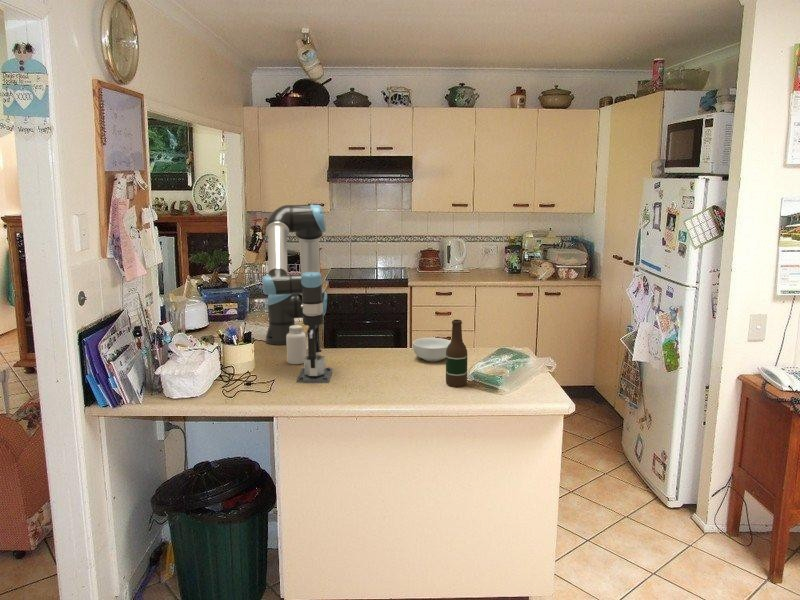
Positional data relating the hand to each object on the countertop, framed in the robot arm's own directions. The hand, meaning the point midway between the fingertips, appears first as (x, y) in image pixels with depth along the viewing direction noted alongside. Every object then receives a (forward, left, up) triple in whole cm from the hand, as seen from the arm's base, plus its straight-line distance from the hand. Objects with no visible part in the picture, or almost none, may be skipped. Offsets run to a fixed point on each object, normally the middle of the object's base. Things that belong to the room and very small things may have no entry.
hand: (315, 372), depth 241 cm
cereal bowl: (-22, +46, -2) cm, 51 cm away
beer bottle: (+10, +53, -2) cm, 54 cm away
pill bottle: (-19, -10, -2) cm, 22 cm away
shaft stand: (0, 0, -2) cm, 2 cm away
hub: (0, 0, 0) cm, 0 cm away
